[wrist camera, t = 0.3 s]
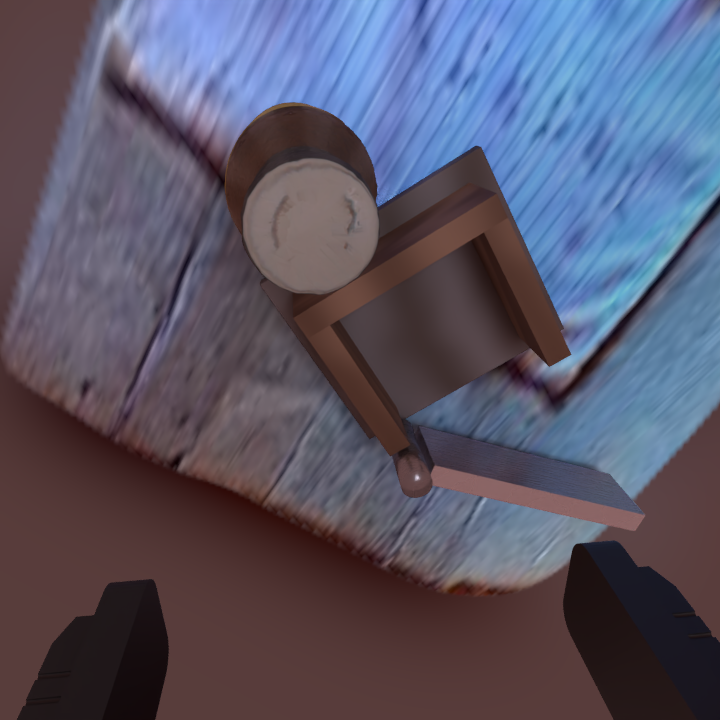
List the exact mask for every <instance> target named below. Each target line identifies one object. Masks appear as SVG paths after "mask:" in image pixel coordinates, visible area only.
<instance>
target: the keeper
mask: <svg viewBox="0 0 720 720" xmlns="http://www.w3.org/2000/svg"><path fill="white" fill-rule="evenodd" d="M401 420H402V423H403V426H404V429H405V432H406V434H407V437H408V440H409V443H410V445H409V446H408V447H406V448H404V449H402V450H401V451H399V452H397V453H395V454H393V455H392V458H393V461H394V465H395V468H396V471H397V475H398V478H399V482H400V485H401V489H402V491H403V493H404V494H405V495H407V496H409V497H412V498H418V497H422V496H424V495H426V494H427V493H428V492H429V491H430V490H431V488H432V485H433V486H438V487H442V488H447V489H451V490H455V491H460V492H464V493H469V494H473V495H477V496H482V497H486V498H491V499H495V500H499V501H504V502H508V503H513V504H517V505H521V506H526V507H530V508H535V509H539V510H543V511H548V512H552V513H557V514H561V515H565V516H570V517H574V518H579V519H583V520H588V521H592V522H596V523H601V524H605V525H610V526H614V527H619V528H623V529H627V530H632V531H635V530H636V529H637V527H638V526H639V524H640V523H641V521H642V520H643V518H644V517H645V514H644V513H643V512H642V511H641V510H640V509H639V507H638V506H637V505H636V504H635V503H634V502H633V500H632V499H631V498H630V497H629V496H628V495H627V494H626V492H625V491H624V490H623V489H622V488H621V487H620V486H619V484H618V483H617V482H616V481H615V480H614V479H613V478H612V476H611V475H610V474H608V473H604V472H600V471H596V470H592V469H588V468H584V467H580V466H576V465H572V464H568V463H564V462H560V461H556V460H552V459H548V458H544V457H540V456H536V455H532V454H529V453H525V452H521V451H517V450H513V449H509V448H505V447H501V446H497V445H493V444H489V443H485V442H481V441H477V440H473V439H469V438H465V437H461V436H457V435H453V434H449V433H446V432H442V431H438V430H434V429H430V428H426V427H422V426H418V429H417V431H416V433H414V430H413V428H412V425H411V423H410V422H409V421H408V420H406V419H403V418H401Z"/></svg>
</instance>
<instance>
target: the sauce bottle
mask: <svg viewBox="0 0 720 720" xmlns="http://www.w3.org/2000/svg"><path fill="white" fill-rule="evenodd" d="M225 193H226V200H227V205H228V209H229V211H230V214H231V217H232V219H233V221H234V223H235V225H236V227H237V228H238V230H239V231H240V233H241V234H242V242H243V245H244V249H245V250H246V252H247V254H248V256H249V258H250V259H251V261H252V262H253V264H254V265H255V266H256V268H257V269H258V270H259V272H260V273H261V274H262V275H263V276H264V277H265V278H266V279H267V280H269V281H270V282H272V283H273V284H274V285H276V286H278V287H280V288H282V289H284V290H286V291H290V292H293V293H297V294H312V295H324V294H328V293H332V292H334V291H336V290H339V289H341V288H343V287H345V286H346V285H348V284H349V283H350V282H352V281H353V280H355V279H357V278H358V277H359V276H360V275H361V274H362V272H363V271H364V270H365V269H366V267H367V266H368V265H369V263H370V261H371V260H372V258H373V256H374V254H375V252H376V249H377V245H378V240H379V235H380V218H379V212H378V207H377V204H376V197H377V183H376V178H375V173H374V168H373V164H372V161H371V159H370V157H369V155H368V152H367V151H366V149H365V146H364V145H363V144H362V142H361V140H360V139H359V138H358V137H357V135H355V133H354V132H353V131H352V130H351V129H350V128H349V127H347V126H346V125H345V124H344V122H343V121H341V120H340V119H339V118H337V117H336V116H334V115H333V114H331V113H329V112H327V111H324V110H322V109H319V108H316V107H313V106H310V105H307V104H303V103H295V102H292V103H282V104H279V105H275V106H272V107H270V108H269V109H267V110H265V111H264V112H262V113H261V114H260V115H258V116H257V117H256V118H255V119H254V120H253V121H252V122H251V123H250V124H249V125H248V127H247V128H246V129H245V130H244V131H243V133H242V134H241V135H240V137H239V138H238V140H237V142H236V144H235V146H234V148H233V150H232V152H231V154H230V157H229V160H228V164H227V169H226V176H225Z"/></svg>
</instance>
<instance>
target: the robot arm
mask: <svg viewBox="0 0 720 720" xmlns="http://www.w3.org/2000/svg"><path fill="white" fill-rule="evenodd" d="M563 610H564V616H565V621H566V625H567V627H568V630H569V632H570V635H571V637H572V639H573V641H574V643H575V645H576V647H577V649H578V651H579V653H580V654H581V657H582V659H583V660H584V663H585V664H586V666H587V668H588V670H589V672H590V674H591V676H592V678H593V680H594V682H595V684H596V686H597V688H598V690H599V692H600V694H601V696H602V698H603V700H604V702H605V703H606V705H607V707H608V709H609V711H610V713H611V715H612V717H613V719H614V720H720V642H719V641H718V640H717V639H716V637H712V635H711V631H710V630H709V628H708V627H707V626H706V625H705V623H704V622H703V621H702V620H701V618H700V617H699V616H696V615H695V611H694V609H693V608H692V607H691V605H690V604H689V603H688V602H687V601H686V599H685V598H684V597H683V595H682V594H681V593H680V591H679V590H678V589H677V588H676V586H674V585H673V584H672V583H670V582H669V581H668V580H666V579H665V578H664V577H662V576H661V575H660V574H658V573H657V572H656V571H654V570H653V569H652V568H650V567H649V566H647V567H637V565H636V564H635V563H634V561H633V560H632V558H631V557H630V556H629V554H628V553H627V552H626V550H625V549H624V548H623V547H622V545H621V544H620V543H618V542H617V541H603V542H591V543H580V544H576V545H575V546H574V547H573V550H572V555H571V560H570V566H569V571H568V577H567V583H566V588H565V594H564V599H563ZM168 647H169V646H168V636H167V631H166V627H165V622H164V618H163V614H162V609H161V605H160V601H159V596H158V592H157V588H156V584H155V582H154V580H152V579H149V580H137V581H126V582H114V583H109V584H108V585H107V587H106V588H105V590H104V592H103V595H102V597H101V600H100V602H99V605H98V607H97V609H96V612H95V614H94V615H92V616H81V617H76V618H75V619H74V620H73V621H72V622H71V623H70V624H69V626H68V627H67V628H66V629H65V630H64V631H63V632H62V633H61V634H60V636H59V637H58V638H57V639H56V640H55V641H54V642H53V643H52V645H51V647H50V649H49V652H48V654H47V656H46V658H45V660H44V662H43V665H42V667H41V669H40V671H39V673H38V680H35V682H34V684H33V686H32V688H31V690H30V693H29V695H28V697H27V699H26V706H23V708H22V710H21V712H20V714H19V716H18V718H17V720H155V719H156V714H157V710H158V706H159V702H160V697H161V693H162V689H163V685H164V680H165V676H166V672H167V665H168V653H169V648H168Z"/></svg>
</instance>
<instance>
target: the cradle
mask: <svg viewBox="0 0 720 720" xmlns="http://www.w3.org/2000/svg"><path fill="white" fill-rule="evenodd" d="M378 212H379V218H380V235H379V240H378V245H377V249H376V252H375V254H374V256H373V258H372V260H371V261H370V263H369V265H368V266H367V267H366V269H365V270H364V271H363V272H362V274H361V275H360V276H359V277H358V278H357V279H355V280H353V281H352V282H350V283H349V284H348V285H346V286H345V287H343V288H341V289H339V290H336V291H334V292H332V293H328V294H324V295H312V294H297V293H293V292H290V291H286V290H284V289H282V288H280V287H278V286H276V285H274V284H273V283H272V282H270V281H269V280H267V279H266V278H264V279H263V280H261V283H260V285H261V287H262V288H263V290H264V291H265V292H266V294H267V295H268V297H269V298H270V300H271V301H272V302H273V304H274V305H275V307H276V308H277V309H278V311H279V312H280V314H281V315H282V316H283V318H284V319H285V321H286V322H287V323H288V325H289V326H290V328H291V329H292V330H293V332H294V333H295V335H296V336H297V338H298V339H299V340H300V342H301V343H302V345H303V346H304V347H305V349H306V350H307V352H308V353H309V354H310V356H311V357H312V359H313V360H314V361H315V363H316V364H317V366H318V367H319V368H320V370H321V371H322V373H323V374H324V376H325V377H326V378H327V380H328V381H329V383H330V384H331V385H332V387H333V388H334V390H335V391H336V392H337V394H338V395H339V397H340V398H341V399H342V401H343V402H344V404H345V405H346V406H347V408H348V409H349V411H350V412H351V414H352V415H353V416H354V418H355V419H356V421H357V422H358V423H359V425H360V426H361V428H362V429H363V430H364V432H365V433H366V435H367V436H368V437H369V439H371V438H373V437H374V436H376V437H377V438H378V440H379V441H380V442H381V444H382V445H383V447H384V448H385V450H386V451H387V452H388V454H389V455H390V456H392V455H393V454H395V453H397V452H399V451H401V450H402V449H404V448H406V447H408V446H409V445H410V443H409V440H408V437H407V434H406V432H405V429H404V426H403V423H402V420H401V418H403V419H406V418H408V417H409V416H411V415H413V414H415V413H417V412H418V411H420V410H422V409H424V408H425V407H427V406H429V405H431V404H432V403H434V402H436V401H438V400H439V399H441V398H443V397H445V396H446V395H448V394H450V393H452V392H453V391H455V390H457V389H459V388H460V387H462V386H464V385H466V384H468V383H469V382H471V381H473V380H475V379H476V378H478V377H480V376H482V375H483V374H485V373H487V372H489V371H490V370H492V369H494V368H496V367H497V366H499V365H501V364H503V363H504V362H506V361H508V360H510V359H511V358H513V357H515V356H517V355H518V354H520V353H522V352H524V351H526V350H527V349H529V348H531V349H532V350H533V351H534V352H535V353H536V354H537V355H538V356H539V357H540V358H541V359H542V360H543V361H544V362H545V363H546V364H547V365H548V366H549V367H550V366H552V365H554V364H555V363H557V362H559V361H561V360H563V359H564V358H566V357H568V356H570V355H571V353H570V351H569V349H568V347H567V345H566V342H565V340H564V338H563V336H562V334H561V332H560V331H561V330H562V329H564V328H563V325H562V323H561V321H560V319H559V317H558V314H557V312H556V310H555V308H554V306H553V304H552V301H551V299H550V297H549V295H548V293H547V290H546V288H545V286H544V284H543V282H542V279H541V277H540V275H539V273H538V271H537V268H536V266H535V264H534V262H533V260H532V258H531V255H530V253H529V251H528V249H527V247H526V244H525V242H524V240H523V238H522V236H521V233H520V231H519V229H518V227H517V225H516V222H515V220H514V218H513V216H512V214H511V212H510V209H509V207H508V205H507V203H506V201H505V198H504V196H503V194H502V192H501V190H500V187H499V185H498V183H497V181H496V179H495V176H494V174H493V172H492V170H491V168H490V166H489V163H488V161H487V159H486V157H485V155H484V152H483V150H482V148H481V147H479V146H475V147H473V148H472V149H470V150H469V151H467V152H465V153H464V154H462V155H461V156H459V157H457V158H456V159H454V160H453V161H451V162H449V163H448V164H446V165H445V166H443V167H441V168H440V169H438V170H437V171H435V172H433V173H432V174H430V175H429V176H427V177H425V178H424V179H422V180H421V181H419V182H418V183H416V184H414V185H413V186H411V187H410V188H408V189H406V190H405V191H403V192H402V193H400V194H398V195H397V196H395V197H394V198H392V199H390V200H389V201H387V202H386V203H384V204H382V205H381V206H379V207H378Z"/></svg>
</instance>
